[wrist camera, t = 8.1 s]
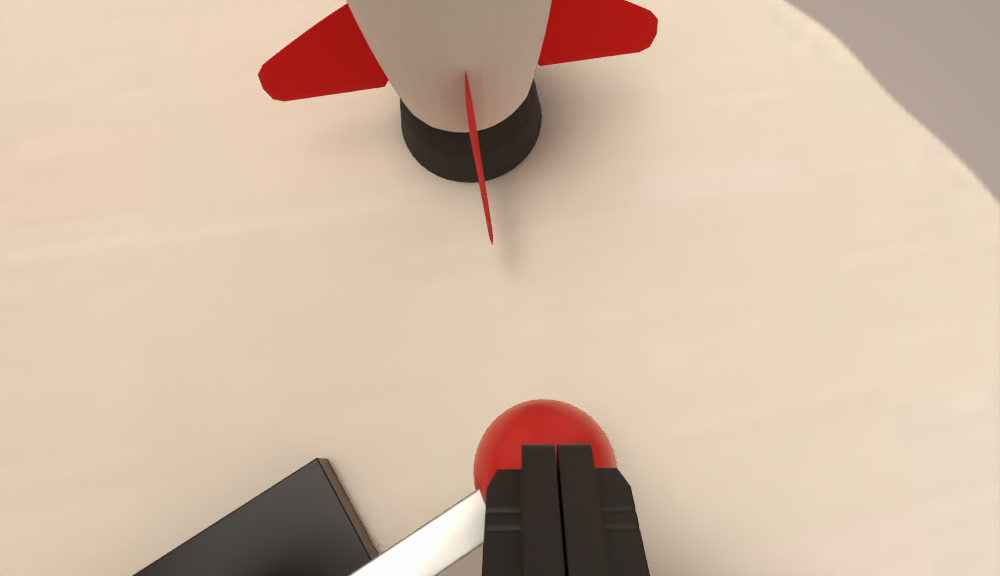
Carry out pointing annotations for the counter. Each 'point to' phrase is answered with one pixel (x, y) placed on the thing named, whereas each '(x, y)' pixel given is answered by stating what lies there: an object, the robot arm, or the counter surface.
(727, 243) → the counter surface
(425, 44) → the toy rocket
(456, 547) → the lever
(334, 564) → the bracket
